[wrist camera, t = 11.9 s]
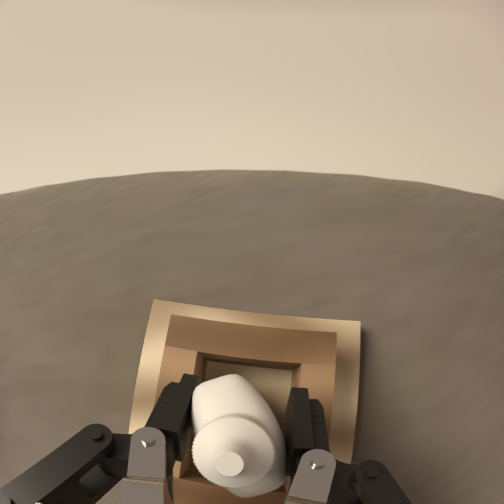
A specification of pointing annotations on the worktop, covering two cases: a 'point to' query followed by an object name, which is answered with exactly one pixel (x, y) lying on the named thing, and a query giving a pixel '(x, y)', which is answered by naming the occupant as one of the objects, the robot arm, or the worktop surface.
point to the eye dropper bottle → (237, 437)
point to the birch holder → (250, 375)
